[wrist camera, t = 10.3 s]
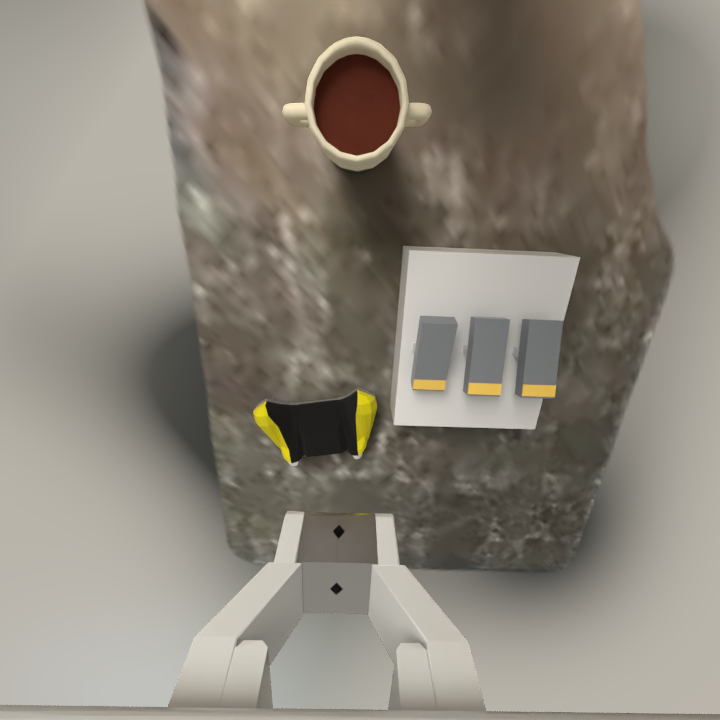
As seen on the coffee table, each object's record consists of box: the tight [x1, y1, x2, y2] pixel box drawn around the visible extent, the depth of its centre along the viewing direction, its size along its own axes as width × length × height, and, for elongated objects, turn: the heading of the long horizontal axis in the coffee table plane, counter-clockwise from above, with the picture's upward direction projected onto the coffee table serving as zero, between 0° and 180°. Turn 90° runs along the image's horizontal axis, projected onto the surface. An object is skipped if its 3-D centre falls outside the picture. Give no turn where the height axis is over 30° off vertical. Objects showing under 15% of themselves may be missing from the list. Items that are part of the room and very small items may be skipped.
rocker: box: [463, 317, 510, 397], centre depth 37 cm, size 8×3×2 cm, turn 178°
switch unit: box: [390, 246, 580, 429], centre depth 41 cm, size 20×17×6 cm
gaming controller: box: [253, 388, 377, 466], centre depth 46 cm, size 15×6×10 cm
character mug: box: [282, 36, 432, 173], centre depth 30 cm, size 11×7×13 cm, turn 90°
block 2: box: [515, 319, 563, 399], centre depth 37 cm, size 8×3×2 cm, turn 178°
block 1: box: [411, 316, 458, 391], centre depth 37 cm, size 8×3×2 cm, turn 178°
